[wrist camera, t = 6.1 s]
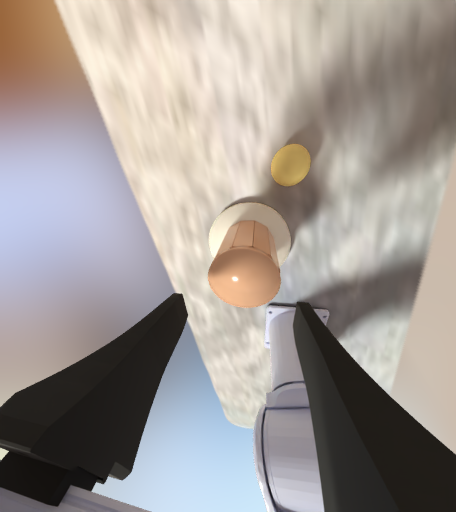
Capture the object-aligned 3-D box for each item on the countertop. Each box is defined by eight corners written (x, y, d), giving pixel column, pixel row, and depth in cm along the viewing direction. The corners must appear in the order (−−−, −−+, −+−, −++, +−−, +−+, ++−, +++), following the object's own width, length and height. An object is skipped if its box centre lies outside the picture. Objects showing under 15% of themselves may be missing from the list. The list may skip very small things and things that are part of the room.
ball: (302, 183, 15) (311, 187, 12) (269, 184, 16) (270, 189, 13) (308, 143, 14) (319, 139, 11) (271, 147, 14) (273, 144, 12)
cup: (272, 265, 19) (278, 309, 13) (226, 264, 20) (212, 305, 14) (275, 219, 16) (283, 249, 11) (221, 220, 17) (202, 249, 12)
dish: (285, 275, 20) (286, 279, 20) (214, 272, 22) (213, 276, 21) (294, 200, 16) (296, 201, 15) (205, 203, 17) (203, 205, 17)
